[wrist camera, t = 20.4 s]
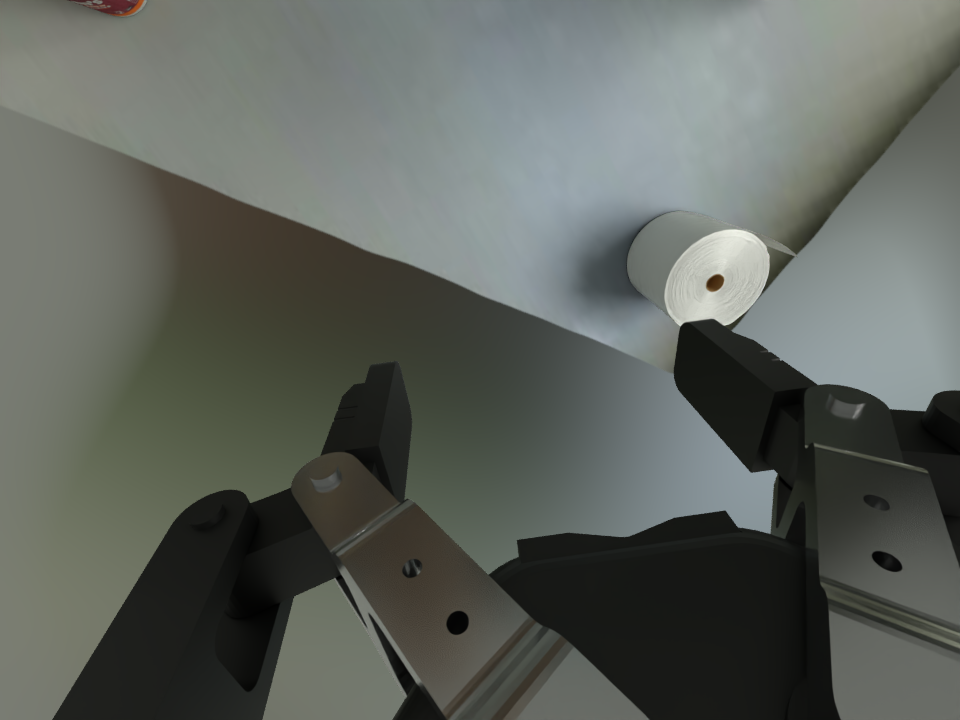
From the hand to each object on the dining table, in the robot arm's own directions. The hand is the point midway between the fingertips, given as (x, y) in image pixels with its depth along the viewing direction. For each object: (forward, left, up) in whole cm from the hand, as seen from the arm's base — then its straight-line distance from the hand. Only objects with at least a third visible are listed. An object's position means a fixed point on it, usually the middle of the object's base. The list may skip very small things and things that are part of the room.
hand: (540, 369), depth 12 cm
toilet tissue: (-24, +10, -38) cm, 46 cm away
